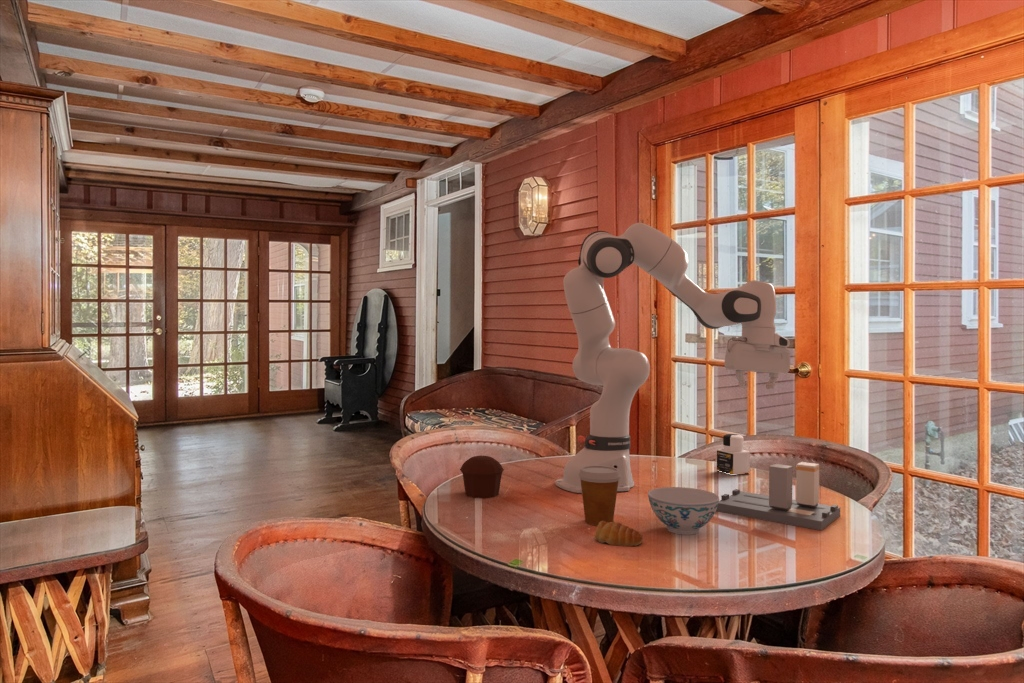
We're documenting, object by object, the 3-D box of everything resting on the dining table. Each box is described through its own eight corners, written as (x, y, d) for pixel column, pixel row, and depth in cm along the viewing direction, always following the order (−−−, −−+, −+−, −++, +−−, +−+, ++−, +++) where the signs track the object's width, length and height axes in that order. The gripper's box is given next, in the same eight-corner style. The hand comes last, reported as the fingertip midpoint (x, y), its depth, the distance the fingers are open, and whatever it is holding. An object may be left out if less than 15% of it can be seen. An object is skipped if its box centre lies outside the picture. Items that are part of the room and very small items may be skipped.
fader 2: (795, 505, 153) (796, 464, 153) (801, 502, 156) (801, 461, 156) (814, 508, 150) (814, 466, 150) (819, 505, 153) (819, 464, 153)
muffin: (510, 492, 174) (510, 455, 174) (492, 501, 164) (492, 462, 164) (471, 487, 179) (472, 451, 179) (451, 496, 169) (452, 458, 169)
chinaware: (670, 543, 131) (670, 505, 131) (635, 523, 145) (635, 489, 145) (733, 537, 135) (733, 501, 135) (693, 518, 150) (694, 485, 150)
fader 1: (768, 508, 150) (769, 466, 150) (774, 504, 153) (774, 463, 153) (786, 511, 148) (787, 468, 148) (792, 507, 151) (792, 466, 151)
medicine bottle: (716, 471, 203) (716, 433, 203) (733, 469, 206) (733, 432, 206) (732, 476, 197) (733, 436, 197) (750, 474, 200) (750, 435, 200)
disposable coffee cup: (626, 520, 148) (626, 468, 148) (610, 530, 140) (611, 475, 140) (588, 514, 153) (588, 463, 153) (570, 523, 144) (571, 470, 144)
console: (715, 510, 156) (715, 498, 156) (739, 498, 169) (739, 487, 169) (821, 530, 141) (822, 516, 141) (840, 515, 153) (840, 503, 153)
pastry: (646, 541, 133) (646, 522, 133) (637, 550, 127) (637, 531, 127) (602, 534, 137) (602, 516, 137) (592, 543, 131) (592, 525, 131)
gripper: (735, 335, 174) (733, 386, 173) (794, 341, 181) (793, 390, 180) (720, 336, 180) (718, 386, 179) (778, 342, 187) (776, 389, 186)
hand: (756, 388), depth 180 cm, fingers open, 8 cm apart
